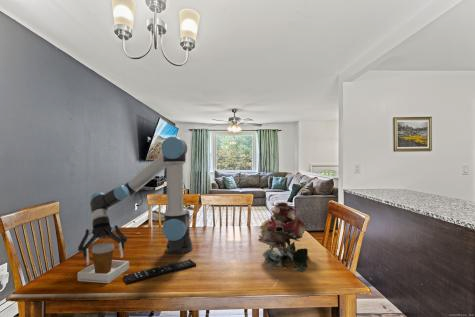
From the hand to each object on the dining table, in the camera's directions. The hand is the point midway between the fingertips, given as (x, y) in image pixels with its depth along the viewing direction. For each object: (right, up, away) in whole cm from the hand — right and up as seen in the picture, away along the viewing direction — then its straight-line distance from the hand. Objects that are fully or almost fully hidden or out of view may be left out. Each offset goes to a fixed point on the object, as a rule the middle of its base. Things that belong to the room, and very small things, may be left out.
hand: (105, 260), depth 112 cm
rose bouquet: (+83, -7, +19) cm, 86 cm away
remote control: (+24, -8, +4) cm, 26 cm away
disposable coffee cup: (-2, -6, +2) cm, 7 cm away
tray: (-1, -7, +2) cm, 8 cm away
